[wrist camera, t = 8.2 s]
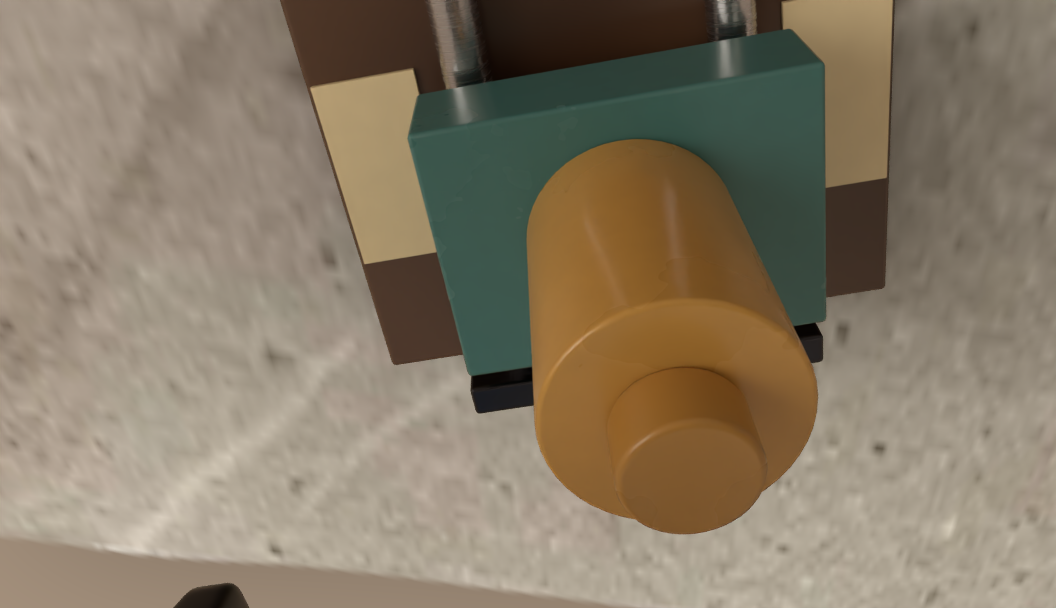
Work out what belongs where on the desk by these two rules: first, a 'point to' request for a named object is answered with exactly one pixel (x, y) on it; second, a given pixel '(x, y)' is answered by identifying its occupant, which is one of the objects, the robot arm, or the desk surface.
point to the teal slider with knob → (642, 263)
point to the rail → (546, 45)
